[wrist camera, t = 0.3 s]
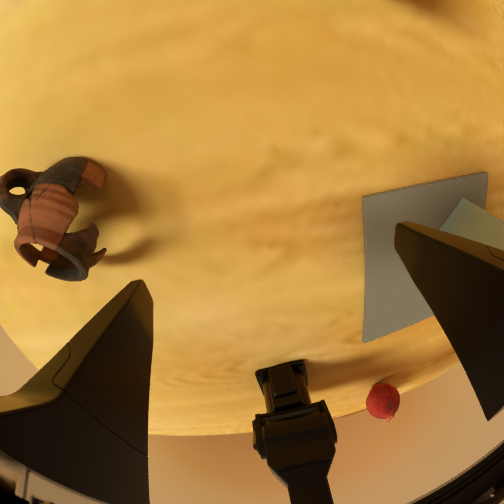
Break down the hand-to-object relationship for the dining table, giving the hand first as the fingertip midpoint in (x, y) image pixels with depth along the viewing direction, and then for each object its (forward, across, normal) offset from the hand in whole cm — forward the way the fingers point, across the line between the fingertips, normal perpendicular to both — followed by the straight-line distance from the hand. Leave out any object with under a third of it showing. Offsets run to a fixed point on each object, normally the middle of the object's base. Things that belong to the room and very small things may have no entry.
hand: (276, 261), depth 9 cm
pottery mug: (+15, +16, -1) cm, 22 cm away
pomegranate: (+13, -16, +39) cm, 44 cm away
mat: (+14, -20, +14) cm, 29 cm away
